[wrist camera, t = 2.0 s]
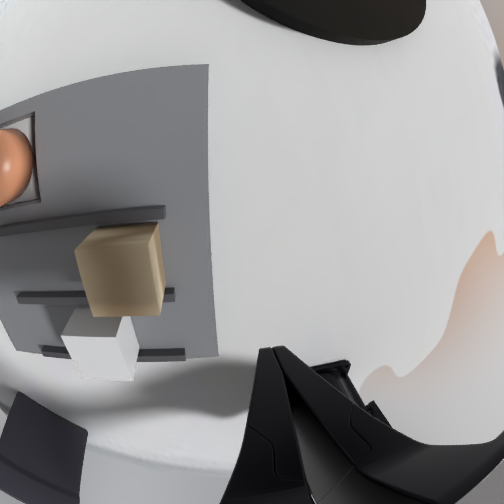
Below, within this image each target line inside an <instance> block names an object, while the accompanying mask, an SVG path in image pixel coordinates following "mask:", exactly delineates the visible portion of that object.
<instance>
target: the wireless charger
mask: <svg viewBox="0 0 504 504" xmlns="http://www.w3.org/2000/svg"><path fill="white" fill-rule="evenodd" d="M241 1H242V2H244V3H245V4H246V5H248V6H250V7H251V8H253V9H254V10H256V11H258V12H259V13H261V14H263V15H265V16H266V17H268V18H270V19H272V20H274V21H276V22H278V23H280V24H282V25H285V26H287V27H289V28H292V29H294V30H297V31H299V32H302V33H305V34H307V35H310V36H313V37H317V38H320V39H324V40H328V41H332V42H337V43H342V44H349V45H377V44H382V43H386V42H389V41H392V40H395V39H398V38H401V37H404V36H406V35H408V34H410V33H411V32H413V31H414V30H415V29H416V28H417V27H418V26H419V25H420V23H421V22H422V20H423V18H424V15H425V10H426V0H241Z"/></svg>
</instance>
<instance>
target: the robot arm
mask: <svg viewBox="0 0 504 504" xmlns="http://www.w3.org/2000/svg"><path fill="white" fill-rule="evenodd" d="M350 366H351V364H350V362H349V361H343V362H339V363H334V364H330V365H325V366H320V367H316V368H310V367H309V366H308V365H306V364H305V363H304V362H303V361H302V360H300V359H299V358H298V357H297V356H296V355H294V354H293V353H292V352H291V351H290V350H289V349H287V348H286V347H285V346H276V347H272V348H270V347H268V348H261V349H259V353H258V359H257V365H256V371H255V377H254V383H253V389H252V395H251V400H250V406H249V412H248V417H247V423H246V427H245V433H244V438H243V442H242V446H241V450H240V453H239V456H238V459H237V462H236V465H235V468H234V470H233V473H232V475H231V478H230V480H229V483H228V485H227V488H226V490H225V493H224V495H223V497H222V499H221V502H220V504H315V503H314V501H313V499H312V497H311V495H312V496H313V498H314V499H315V501H316V503H317V504H504V431H503V432H502V433H501V434H500V435H499V436H498V437H497V438H496V439H494V440H492V441H490V442H487V443H483V444H471V445H428V444H424V443H420V442H418V441H416V440H413V439H412V438H410V437H407V436H406V435H404V434H402V433H400V432H398V431H397V430H395V429H393V428H392V427H391V425H390V424H389V422H388V421H387V419H386V418H385V416H384V415H383V414H382V412H381V411H380V409H379V408H378V406H377V405H376V404H375V402H374V401H371V402H370V403H369V404H368V405H366V406H365V405H364V403H363V401H362V399H361V398H360V396H359V394H358V392H357V390H356V389H355V387H354V385H353V383H352V382H351V380H350V378H349V376H348V375H347V374H348V372H349V369H350Z"/></svg>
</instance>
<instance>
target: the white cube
mask: <svg viewBox="0 0 504 504" xmlns="http://www.w3.org/2000/svg"><path fill="white" fill-rule="evenodd" d="M61 338H62V340H63V342H64V344H65V346H66V348H67V350H68V352H69V354H70V356H71V358H72V360H73V362H74V364H75V366H76V368H77V370H78V371H79V373H80V375H81V377H82V378H84V379H96V380H112V381H133V379H134V373H135V368H136V362H137V357H138V352H139V344H138V341H137V337H136V334H135V331H134V327H133V324H132V320H131V317H130V316H123V317H93V314H92V312H91V309H90V306H89V305H77V306H76V308H75V310H74V312H73V314H72V315H71V317H70V319H69V321H68V323H67V324H66V326H65V328H64V330H63V332H62V334H61Z"/></svg>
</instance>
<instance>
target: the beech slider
mask: <svg viewBox="0 0 504 504" xmlns="http://www.w3.org/2000/svg"><path fill="white" fill-rule="evenodd" d="M74 252H75V256H76V260H77V264H78V268H79V272H80V276H81V279H82V283H83V286H84V290H85V293H86V296H87V299H88V302H89V306H90V309H91V312H92V314H93V317H123V316H158V315H160V313H161V307H162V302H163V296H164V290H165V285H166V279H165V272H164V265H163V258H162V250H161V242H160V233H159V224H158V222H153V223H140V224H127V225H116V226H105V227H96V228H95V229H94V230H93V231H92V232H91V233H90V234H89V235H88V236H87V237H86V238H85V239H84V240H83V242H82V243H81V244H80V245H79V246H78V247H77V248H76V249H75V250H74Z"/></svg>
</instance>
